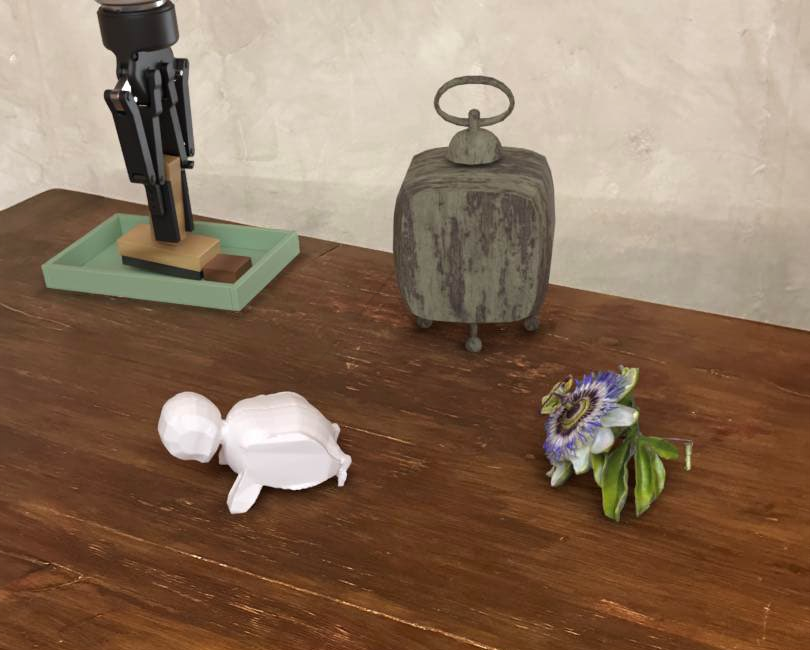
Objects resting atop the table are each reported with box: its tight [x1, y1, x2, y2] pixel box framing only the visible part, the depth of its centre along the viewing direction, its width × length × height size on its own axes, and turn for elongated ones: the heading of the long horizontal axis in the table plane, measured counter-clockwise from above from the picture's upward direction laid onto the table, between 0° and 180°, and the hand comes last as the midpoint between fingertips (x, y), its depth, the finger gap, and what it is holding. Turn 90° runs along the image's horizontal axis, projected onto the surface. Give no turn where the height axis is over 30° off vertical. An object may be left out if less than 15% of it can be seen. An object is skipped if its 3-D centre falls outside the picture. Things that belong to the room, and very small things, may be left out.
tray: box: [40, 212, 301, 312], centre depth 125 cm, size 24×16×3 cm, turn 71°
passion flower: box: [536, 364, 695, 523], centre depth 88 cm, size 11×11×12 cm
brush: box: [117, 154, 221, 281], centre depth 122 cm, size 10×5×12 cm, turn 71°
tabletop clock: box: [392, 75, 556, 354], centre depth 103 cm, size 14×9×25 cm, turn 82°
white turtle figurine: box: [157, 391, 352, 515], centre depth 90 cm, size 9×8×15 cm
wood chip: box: [202, 254, 252, 284], centre depth 123 cm, size 4×4×2 cm
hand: (175, 234), depth 123 cm, fingers closed on brush, 2 cm apart
